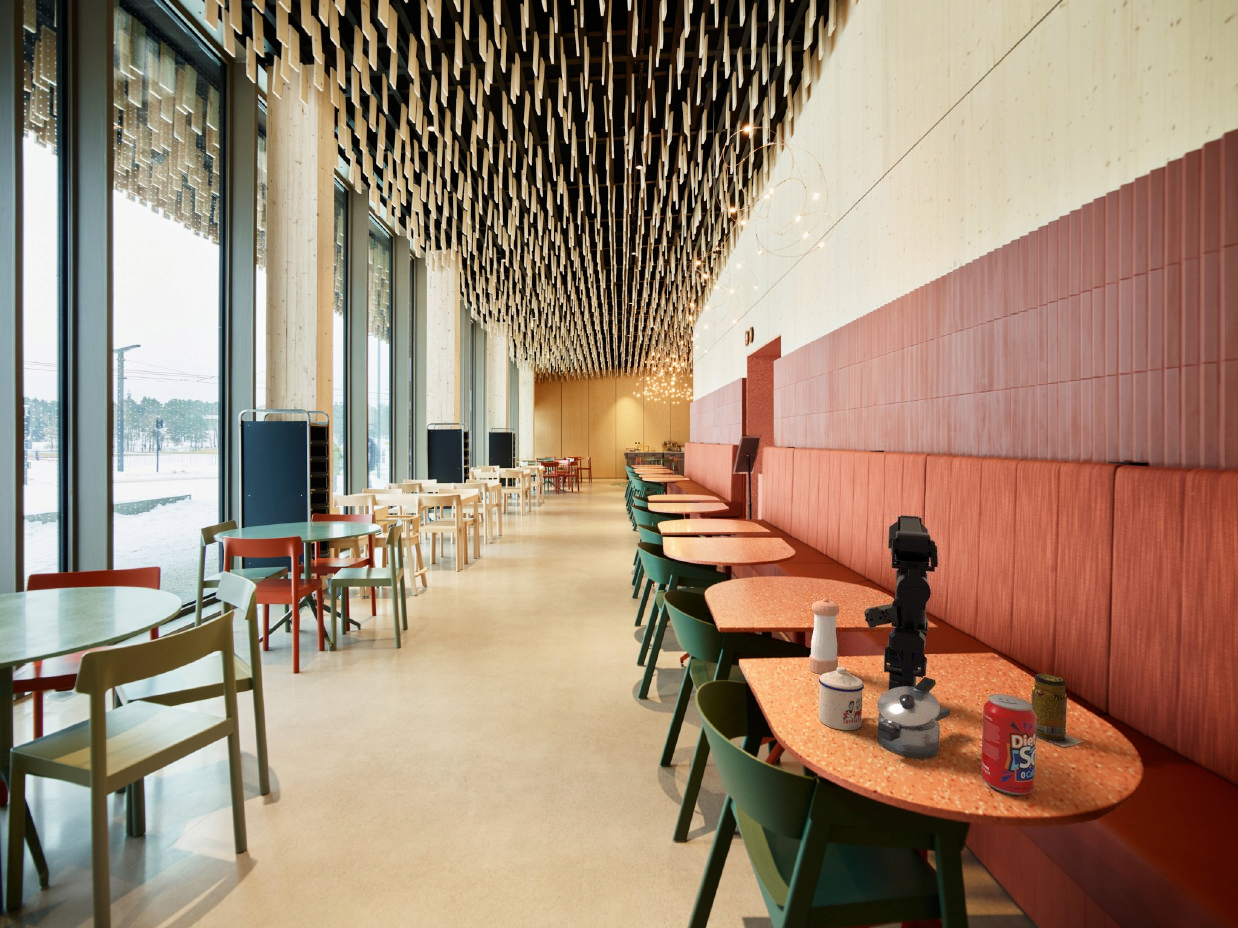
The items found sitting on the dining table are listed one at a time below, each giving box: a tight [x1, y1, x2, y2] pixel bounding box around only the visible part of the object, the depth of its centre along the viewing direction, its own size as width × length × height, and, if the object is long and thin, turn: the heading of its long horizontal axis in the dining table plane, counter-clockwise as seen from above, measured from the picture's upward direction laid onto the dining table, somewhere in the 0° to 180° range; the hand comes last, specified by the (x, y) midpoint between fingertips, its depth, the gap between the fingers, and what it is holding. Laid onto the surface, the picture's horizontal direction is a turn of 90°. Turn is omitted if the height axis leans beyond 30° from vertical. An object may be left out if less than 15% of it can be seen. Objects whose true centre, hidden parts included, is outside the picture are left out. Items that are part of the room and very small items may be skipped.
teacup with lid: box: [818, 666, 865, 731], centre depth 134 cm, size 12×9×12 cm
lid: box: [876, 676, 941, 729], centre depth 123 cm, size 15×11×2 cm
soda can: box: [980, 693, 1037, 796], centre depth 108 cm, size 8×8×15 cm
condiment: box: [1030, 673, 1085, 748], centre depth 129 cm, size 7×8×12 cm
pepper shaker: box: [808, 597, 840, 675], centre depth 165 cm, size 7×7×19 cm
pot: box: [877, 704, 951, 760], centre depth 124 cm, size 22×11×6 cm, turn 125°
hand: (907, 672), depth 126 cm, fingers open, 9 cm apart
